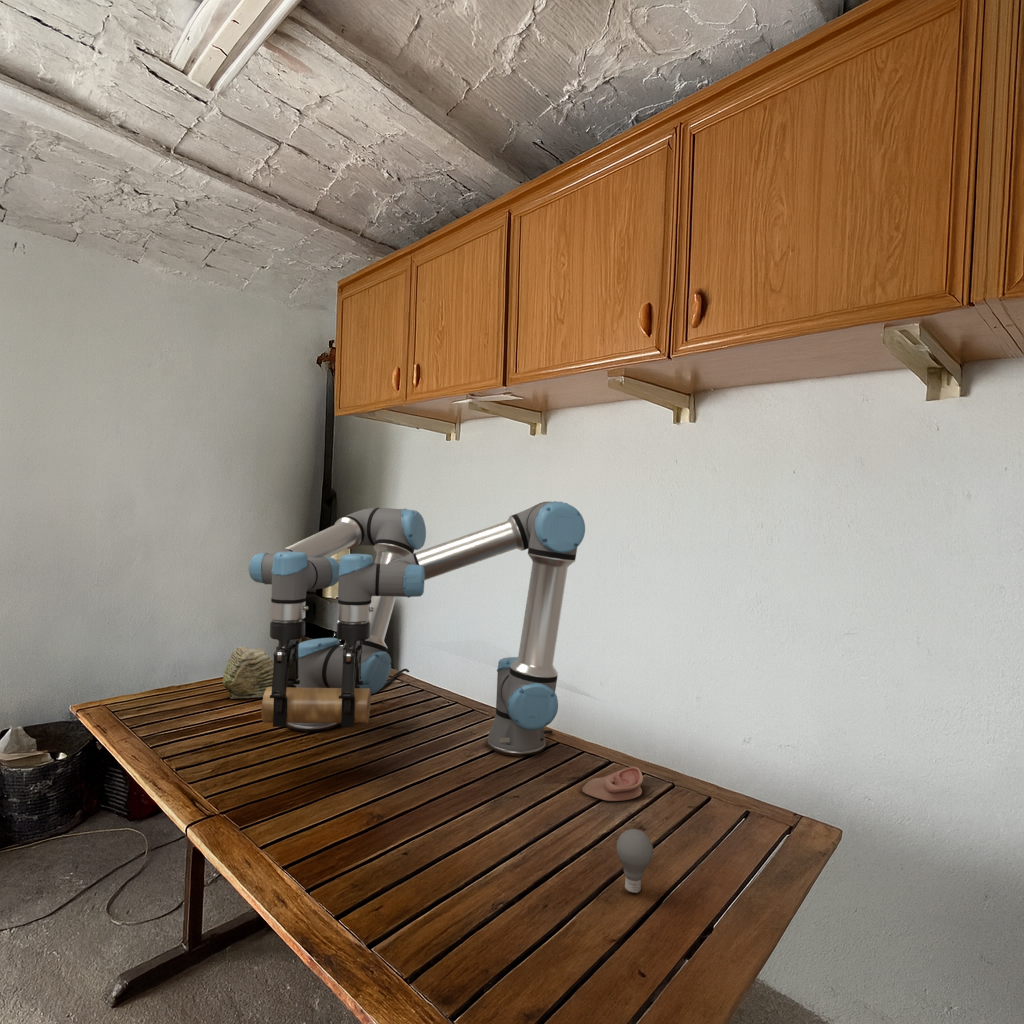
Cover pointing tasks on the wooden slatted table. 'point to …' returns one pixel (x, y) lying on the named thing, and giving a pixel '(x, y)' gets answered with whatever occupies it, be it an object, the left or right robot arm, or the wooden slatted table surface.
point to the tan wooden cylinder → (317, 705)
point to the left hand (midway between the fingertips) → (284, 719)
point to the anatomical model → (616, 785)
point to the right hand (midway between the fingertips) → (350, 719)
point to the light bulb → (634, 857)
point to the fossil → (248, 673)
